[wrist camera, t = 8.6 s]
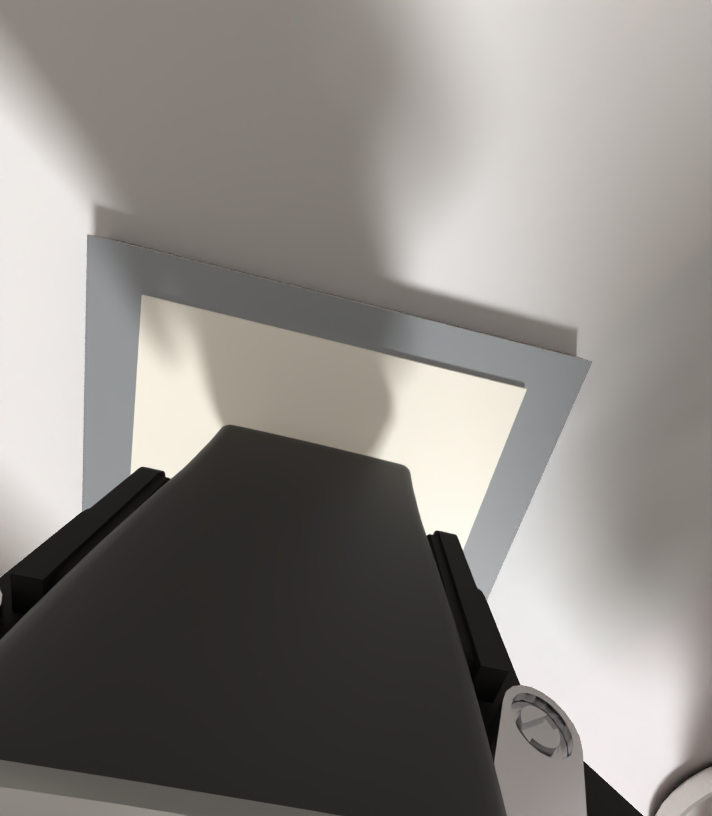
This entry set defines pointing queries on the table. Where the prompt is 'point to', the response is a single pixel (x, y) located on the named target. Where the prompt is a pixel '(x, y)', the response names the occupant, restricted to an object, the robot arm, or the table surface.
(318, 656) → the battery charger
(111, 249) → the writing board
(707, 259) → the table surface
